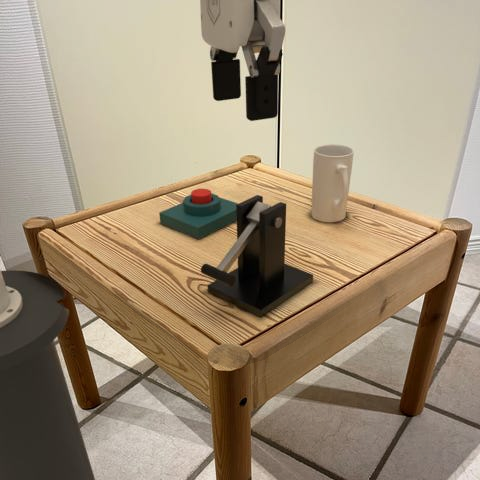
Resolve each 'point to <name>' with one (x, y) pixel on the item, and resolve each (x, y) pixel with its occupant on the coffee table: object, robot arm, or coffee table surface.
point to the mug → (331, 182)
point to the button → (201, 196)
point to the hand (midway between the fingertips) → (243, 108)
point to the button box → (199, 216)
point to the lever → (236, 248)
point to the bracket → (262, 264)
